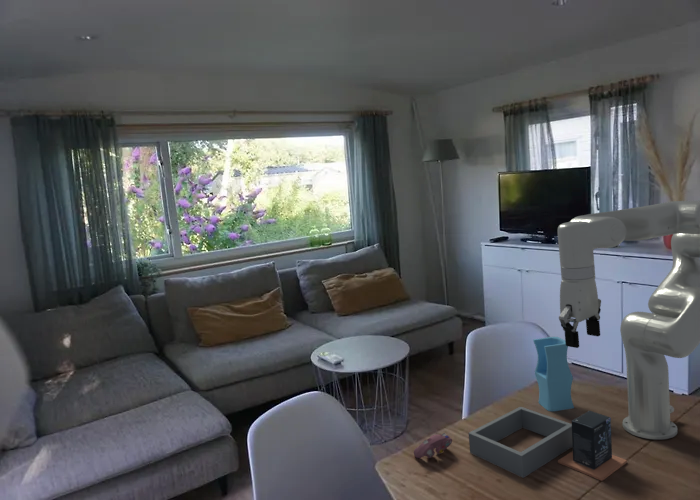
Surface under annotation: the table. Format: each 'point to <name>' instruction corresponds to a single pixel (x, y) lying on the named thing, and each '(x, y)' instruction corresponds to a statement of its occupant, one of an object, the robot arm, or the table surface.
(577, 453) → the box
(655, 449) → the table surface
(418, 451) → the video game controller
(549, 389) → the vase
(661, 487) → the table surface
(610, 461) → the mat
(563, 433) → the enclosure
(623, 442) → the table surface
